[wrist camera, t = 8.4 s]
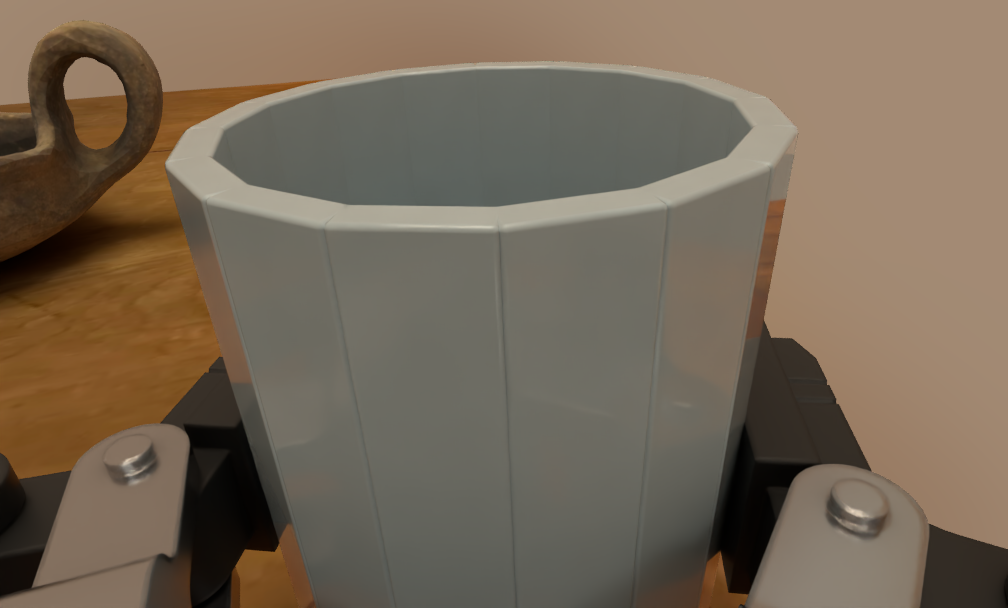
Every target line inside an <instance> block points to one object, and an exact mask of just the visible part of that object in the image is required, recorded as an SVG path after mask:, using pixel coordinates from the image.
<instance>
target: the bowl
mask: <svg viewBox="0 0 1008 608" xmlns="http://www.w3.org/2000/svg"><path fill="white" fill-rule="evenodd" d="M81 57H89V58H93V59H95V60H97V61H98V62H100V63H103V64H105V65H107V66H109V67H110V68H111V69H113V71H114V72H116V74H117V75H118V77H119V79H120V80H121V82H122V83H123V86H124V90H125V93H126V98H127V104H128V107H127V123H126V126H125V128H124V130H123V132H122V134H121V136H120V137H119V138H118V139H117V140H116V141H115V142H114V143H113V144H111V145H110V146H108V147H107V148H102V149H97V150H95V149H91V148H88V147H87V146H85V145H84V144H82V143H81V142H80V141H79V139H78V137H77V135H76V133H75V129H74V119H73V115H72V113H71V111H70V109H69V107H68V105H67V103H66V100H65V95H64V88H63V82H64V77H65V74H66V72H67V69H68V68H69V67H70V66H71V65H72V64H73V63H74V61H75V60H77V59H79V58H81ZM28 91H29V99H30V106H31V113H5V112H0V262H2V261H5V260H7V259H9V258H12V257H14V256H16V255H19V254H21V253H23V252H25V251H27V250H29V249H30V248H32V247H34V246H36V245H37V244H39V243H41V242H43V241H44V240H46V239H48V238H50V237H51V236H53V235H55V234H56V233H58V232H59V231H61V230H62V229H64V228H65V227H67V226H68V225H70V224H71V223H73V222H74V221H75V220H77V219H78V218H80V217H81V216H82V215H83V214H84V213H85V212H86V211H87V210H88V209H89V208H90V207H91V206H92V205H93V204H94V203H95V202H96V201H97V200H98V199H99V198H100V197H101V196H102V195H103V194H104V193H105V192H106V191H107V190H108V189H109V188H110V187H111V186H112V185H113V184H114V183H115V182H117V181H118V180H120V179H121V178H122V177H124V176H125V175H126V174H127V173H129V172H130V171H131V170H132V169H134V168H135V167H136V166H137V165H138V164H139V163H140V162H141V161H142V160H143V158H144V157H145V156H146V155H147V153H148V152H149V150H150V149H151V147H152V145H153V143H154V141H155V138H156V135H157V133H158V130H159V126H160V122H161V117H162V107H163V92H162V85H161V80H160V77H159V73H158V71H157V69H156V67H155V65H154V62H153V61H152V59H151V58H150V56H149V55H148V54H147V52H146V51H145V50H144V48H143V47H142V46H141V44H140V43H138V42H137V41H136V40H135V39H134V38H133V37H131V36H130V35H128V34H127V33H125V32H123V31H121V30H118V29H116V28H113V27H111V26H108V25H106V24H103V23H98V22H91V21H85V20H81V21H72V22H68V23H65V24H62V25H60V26H59V27H57V28H56V29H54V30H52V31H51V32H49V33H48V34H47V35H45V36H44V37H43V39H41V40H40V41H39V42H38V44H37V46H36V49H35V51H34V53H33V56H32V59H31V62H30V67H29V73H28Z"/></svg>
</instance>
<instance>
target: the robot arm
mask: <svg viewBox="0 0 1008 608" xmlns="http://www.w3.org/2000/svg"><path fill="white" fill-rule="evenodd" d="M278 545H279V540H278V537H277V534H276V530H275V527H274V524H273V521H272V517H271V514H270V511H269V507H268V504H267V501H266V498H265V494H264V491H263V488H262V485H261V481H260V478H259V475H258V471H257V468H256V465H255V462H254V458H253V455H252V452H251V448H250V445H249V442H248V439H247V435H246V432H245V429H244V425H243V422H242V419H241V416H240V412H239V409H238V406H237V403H236V399H235V396H234V393H233V389H232V386H231V383H230V380H229V376H228V373H227V370H226V366H225V363H224V360H223V357H219V358H218V359H217V360H216V361H215V362H214V363H213V364H212V366H211V367H210V368H209V373H204V375H203V376H202V377H201V378H200V379H199V380H198V381H197V382H196V384H195V385H194V386H193V387H192V388H191V389H190V390H189V391H188V393H187V394H186V395H185V396H184V397H183V398H182V399H181V400H180V402H179V403H178V404H177V405H176V406H175V407H174V408H173V409H172V411H171V412H170V413H169V414H168V415H167V416H166V417H165V418H164V420H163V421H162V422H161V423H160V424H158V423H157V424H146V425H141V426H136V427H133V428H129V429H126V430H123V431H121V432H118V433H116V434H114V435H112V436H109V437H108V438H106V439H104V440H102V441H101V442H99V443H98V444H96V445H95V446H93V447H92V448H91V449H89V450H88V451H87V452H86V453H85V454H84V455H83V456H82V457H81V458H80V459H79V460H78V462H77V463H76V464H75V466H74V467H73V470H72V471H66V472H60V473H54V474H48V475H42V476H37V477H31V478H25V479H18V477H17V475H16V474H15V472H14V470H13V468H12V466H11V465H10V463H9V461H8V459H7V458H6V457H5V456H4V455H3V454H1V453H0V608H240V578H239V575H238V572H237V570H236V567H235V566H236V564H237V562H238V560H239V559H240V557H241V555H242V553H243V552H244V550H245V549H248V550H259V551H271V552H275V550H276V549H277V547H278ZM721 555H722V560H723V566H724V571H725V576H726V581H727V587H728V592H729V593H739V594H749V595H748V598H747V600H746V603H745V605H742V604H740V605H739V607H738V608H1008V549H1004V548H1001V547H998V546H994V545H991V544H987V543H984V542H980V541H977V540H974V539H971V538H967V537H964V536H960V535H957V534H954V533H951V532H948V531H945V530H943V529H940V528H938V527H936V526H933V525H931V524H929V523H928V520H927V518H926V516H925V514H924V512H923V510H922V508H921V507H920V506H919V505H918V503H917V502H916V501H915V500H914V499H913V498H912V497H911V496H910V495H909V494H908V493H907V492H906V491H905V490H903V489H902V488H901V487H899V486H898V485H896V484H895V483H893V482H892V481H890V480H888V479H886V478H884V477H883V476H881V475H879V474H876V473H874V472H872V471H871V469H870V467H869V465H868V463H867V461H866V459H865V457H864V455H863V452H862V451H861V449H860V446H859V445H858V443H857V440H856V438H855V436H854V435H853V432H852V430H851V428H850V426H849V424H848V422H847V420H846V418H845V416H844V414H843V412H842V410H841V408H840V406H839V404H836V398H835V396H834V394H833V392H832V390H831V388H830V386H829V385H827V380H826V377H825V376H824V373H823V372H822V369H821V367H820V365H819V364H818V361H817V359H816V358H815V357H814V356H813V355H812V354H810V353H809V352H808V351H807V350H805V349H804V348H803V347H802V346H801V345H800V344H798V343H797V342H796V341H795V340H793V339H790V338H771V336H770V334H769V331H768V329H767V326H766V324H765V322H764V320H763V325H762V331H761V336H760V342H759V347H758V352H757V358H756V363H755V368H754V374H753V379H752V385H751V390H750V395H749V401H748V406H747V411H746V417H745V422H744V428H743V433H742V438H741V444H740V449H739V454H738V460H737V465H736V471H735V476H734V481H733V487H732V492H731V497H730V503H729V508H728V513H727V519H726V524H725V530H724V535H723V540H722V546H721Z"/></svg>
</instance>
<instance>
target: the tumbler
mask: <svg viewBox="0 0 1008 608" xmlns="http://www.w3.org/2000/svg"><path fill="white" fill-rule="evenodd" d="M797 138H798V129H797V127H796V125H795V124H794V123H793V122H792V121H791V120H790V119H789V118H788V117H787V116H786V115H785V114H784V113H783V112H782V111H781V110H780V109H779V108H778V107H777V106H776V105H775V104H774V103H773V101H772V100H771V99H768V98H767V97H765V96H762V95H759V94H756V93H753V92H750V91H747V90H744V89H741V88H738V87H735V86H732V85H729V84H727V83H723V82H720V81H718V80H715V79H712V78H707V77H703V76H697V75H690V74H684V73H677V72H671V71H665V70H659V69H652V68H646V67H639V66H637V67H634V66H629V65H610V64H593V63H576V62H560V61H559V62H554V61H550V62H549V61H547V62H492V63H491V62H489V63H476V64H474V63H467V64H454V65H443V66H431V67H419V68H408V69H397V70H394V71H392V70H389V71H383V72H377V73H370V74H364V75H358V76H352V77H346V78H340V79H334V80H327V81H321V82H317V83H311V84H308V85H304V86H300V87H296V88H293V89H289V90H285V91H282V92H278V93H274V94H271V95H267V96H263V97H260V98H256V99H252V100H248V101H245V102H244V103H240V104H238V105H236V106H234V107H232V108H230V109H228V110H226V111H224V112H221V113H219V114H217V115H215V116H213V117H211V118H209V119H207V120H205V121H203V122H201V123H199V124H197V125H195V126H193V127H191V128H189V129H188V130H186V131H185V132H184V133H183V135H182V137H181V138H180V140H179V141H178V143H177V144H176V146H175V148H174V149H173V151H172V152H171V154H170V156H169V157H168V159H167V160H166V162H165V170H166V173H167V176H168V179H169V183H170V186H171V189H172V193H173V196H174V199H175V202H176V206H177V209H178V212H179V216H180V219H181V222H182V225H183V229H184V232H185V235H186V238H187V242H188V245H189V248H190V252H191V255H192V258H193V261H194V265H195V268H196V271H197V275H198V278H199V281H200V284H201V288H202V291H203V294H204V298H205V301H206V304H207V307H208V311H209V314H210V317H211V320H212V324H213V327H214V330H215V334H216V337H217V340H218V343H219V347H220V350H221V353H222V357H223V360H224V363H225V366H226V370H227V373H228V376H229V380H230V383H231V386H232V389H233V393H234V396H235V399H236V403H237V406H238V409H239V412H240V416H241V419H242V422H243V425H244V429H245V432H246V435H247V439H248V442H249V445H250V448H251V452H252V455H253V458H254V462H255V465H256V468H257V471H258V475H259V478H260V481H261V485H262V488H263V491H264V494H265V498H266V501H267V504H268V507H269V511H270V514H271V517H272V521H273V524H274V527H275V530H276V534H277V537H278V540H279V544H280V547H281V550H282V553H283V557H284V560H285V563H286V567H287V570H288V573H289V576H290V580H291V583H292V586H293V589H294V593H295V596H296V599H297V603H298V606H299V608H710V605H711V599H712V594H713V589H714V583H715V578H716V573H717V567H718V562H719V556H720V551H721V546H722V540H723V535H724V530H725V524H726V519H727V513H728V508H729V503H730V497H731V492H732V487H733V481H734V476H735V471H736V465H737V460H738V454H739V449H740V444H741V438H742V433H743V428H744V422H745V417H746V411H747V406H748V401H749V395H750V390H751V385H752V379H753V374H754V368H755V363H756V358H757V352H758V347H759V342H760V336H761V331H762V325H763V320H764V315H765V309H766V304H767V299H768V293H769V288H770V282H771V277H772V272H773V266H774V261H775V256H776V250H777V245H778V239H779V234H780V229H781V223H782V218H783V213H784V207H785V202H786V197H787V191H788V186H789V180H790V175H791V169H792V164H793V159H794V153H795V148H796V143H797Z"/></svg>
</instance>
